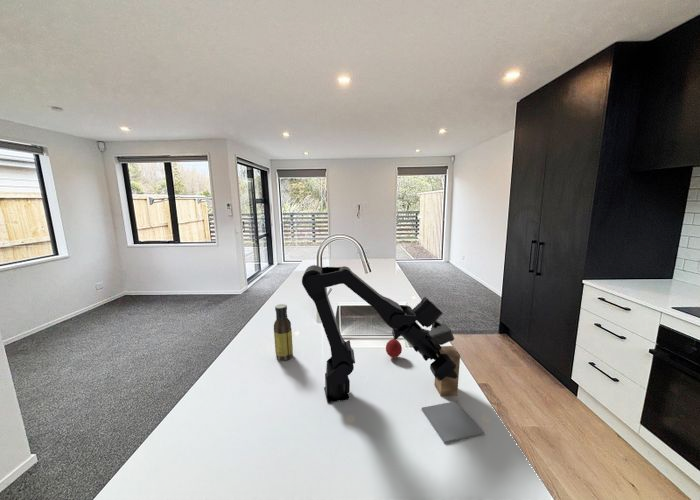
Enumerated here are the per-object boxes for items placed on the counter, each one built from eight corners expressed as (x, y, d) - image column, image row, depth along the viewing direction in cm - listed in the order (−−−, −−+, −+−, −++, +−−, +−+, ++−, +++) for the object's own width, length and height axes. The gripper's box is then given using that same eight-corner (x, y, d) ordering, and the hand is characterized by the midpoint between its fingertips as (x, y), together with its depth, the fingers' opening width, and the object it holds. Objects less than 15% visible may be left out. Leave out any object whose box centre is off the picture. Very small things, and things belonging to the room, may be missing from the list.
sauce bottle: (288, 350, 104) (286, 301, 100) (296, 357, 99) (294, 306, 96) (272, 356, 100) (269, 305, 96) (279, 364, 95) (277, 310, 92)
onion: (401, 363, 96) (402, 342, 94) (385, 361, 97) (385, 340, 95) (401, 354, 101) (402, 334, 100) (386, 352, 102) (386, 333, 101)
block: (440, 396, 79) (443, 355, 77) (434, 384, 84) (436, 346, 82) (457, 395, 80) (460, 354, 77) (450, 384, 84) (452, 345, 82)
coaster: (444, 443, 63) (444, 441, 63) (421, 409, 74) (421, 407, 74) (484, 434, 66) (484, 432, 66) (456, 402, 77) (456, 400, 76)
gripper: (450, 332, 69) (489, 371, 71) (426, 305, 87) (457, 336, 89) (418, 362, 69) (457, 398, 72) (401, 329, 88) (432, 359, 90)
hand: (451, 370), depth 81 cm, fingers open, 7 cm apart
